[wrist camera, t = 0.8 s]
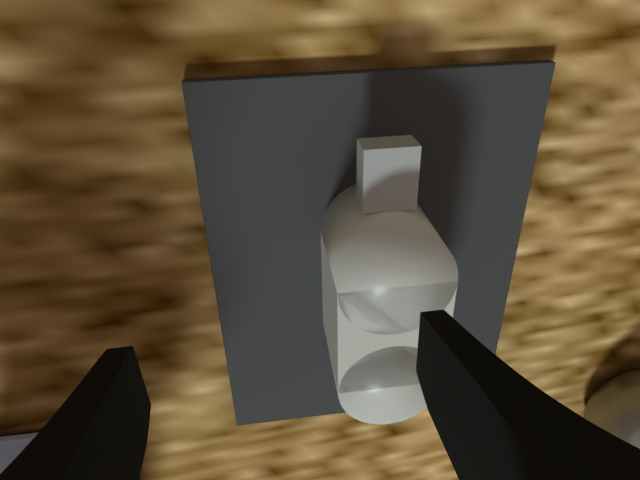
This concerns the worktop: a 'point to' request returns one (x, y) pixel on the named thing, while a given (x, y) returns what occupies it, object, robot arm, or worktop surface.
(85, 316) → the worktop surface
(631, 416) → the plastic bottle
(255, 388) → the rubber mat
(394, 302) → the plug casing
